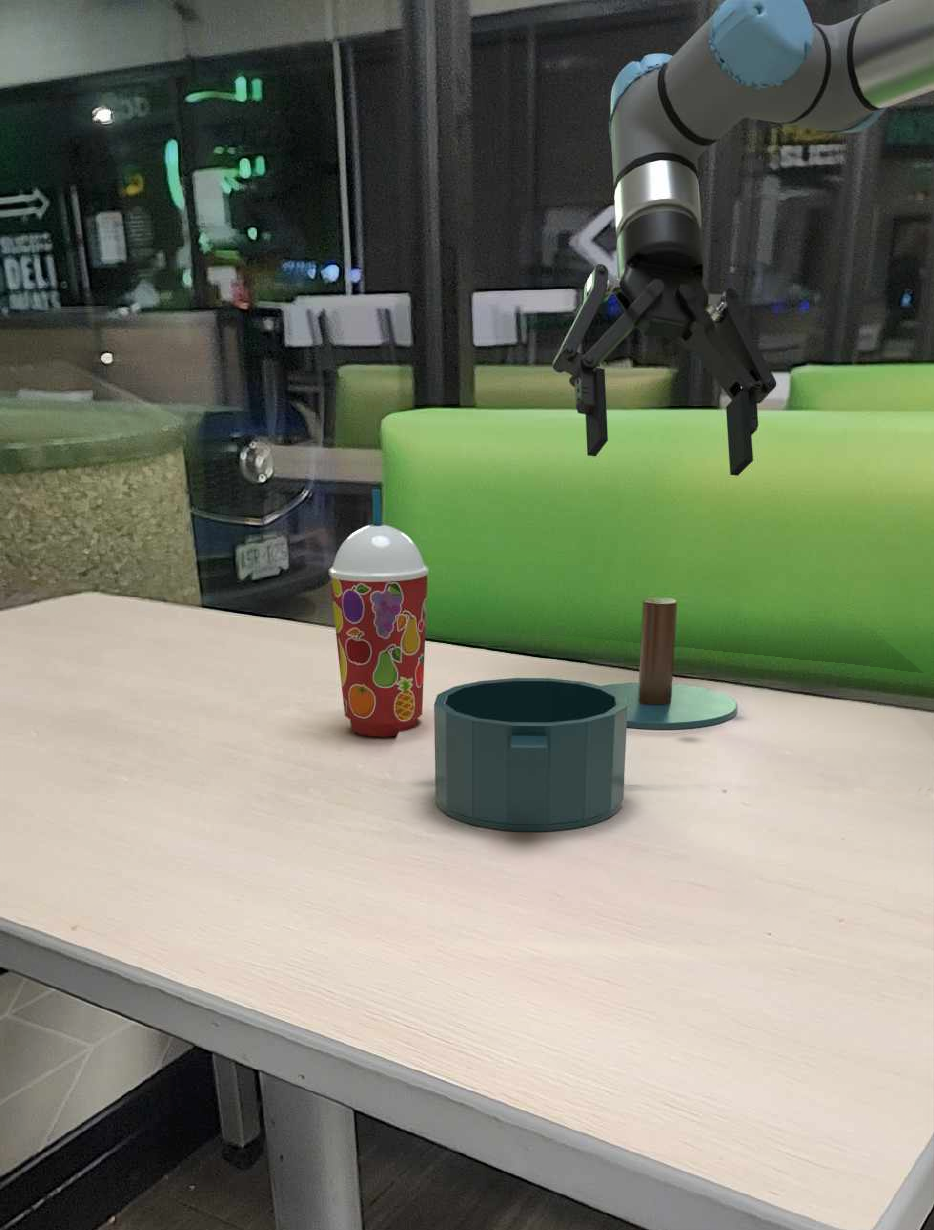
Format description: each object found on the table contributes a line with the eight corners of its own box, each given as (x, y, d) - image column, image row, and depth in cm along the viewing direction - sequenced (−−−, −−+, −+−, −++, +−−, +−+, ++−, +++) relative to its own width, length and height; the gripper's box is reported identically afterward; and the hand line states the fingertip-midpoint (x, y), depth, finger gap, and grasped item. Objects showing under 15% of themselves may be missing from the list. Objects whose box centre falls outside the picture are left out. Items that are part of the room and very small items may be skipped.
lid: (725, 695, 122) (733, 586, 117) (747, 737, 108) (757, 616, 104) (571, 693, 122) (574, 586, 118) (573, 735, 109) (577, 615, 105)
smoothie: (416, 713, 116) (411, 483, 108) (443, 736, 109) (440, 492, 101) (327, 721, 113) (315, 487, 105) (349, 745, 106) (337, 496, 98)
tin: (615, 763, 101) (619, 670, 98) (629, 847, 84) (634, 737, 81) (446, 761, 102) (445, 668, 99) (425, 844, 85) (423, 735, 82)
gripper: (762, 285, 119) (776, 495, 116) (511, 238, 112) (519, 461, 109) (805, 231, 112) (821, 454, 109) (540, 178, 105) (550, 415, 102)
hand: (670, 458), depth 109 cm, fingers open, 13 cm apart
